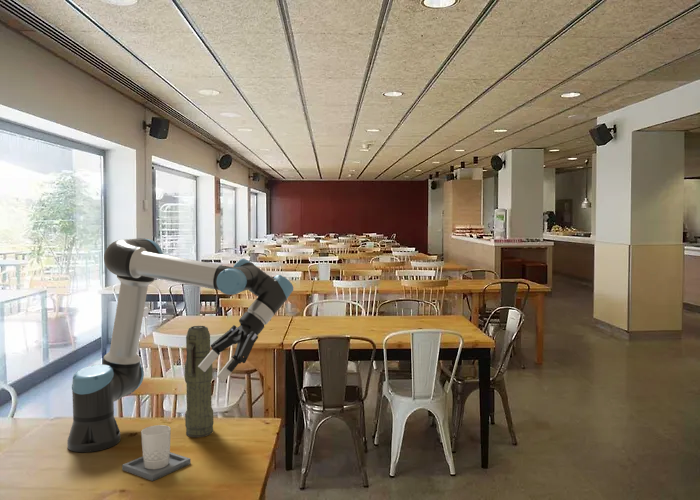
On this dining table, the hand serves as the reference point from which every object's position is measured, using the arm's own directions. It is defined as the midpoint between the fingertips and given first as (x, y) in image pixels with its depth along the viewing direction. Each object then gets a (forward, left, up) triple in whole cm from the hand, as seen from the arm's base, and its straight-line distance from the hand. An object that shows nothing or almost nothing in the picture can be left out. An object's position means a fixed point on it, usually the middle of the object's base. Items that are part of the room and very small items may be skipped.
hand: (210, 374), depth 166 cm
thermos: (-17, +11, -25) cm, 32 cm away
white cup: (-7, -14, -24) cm, 29 cm away
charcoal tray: (-7, -14, -24) cm, 29 cm away
